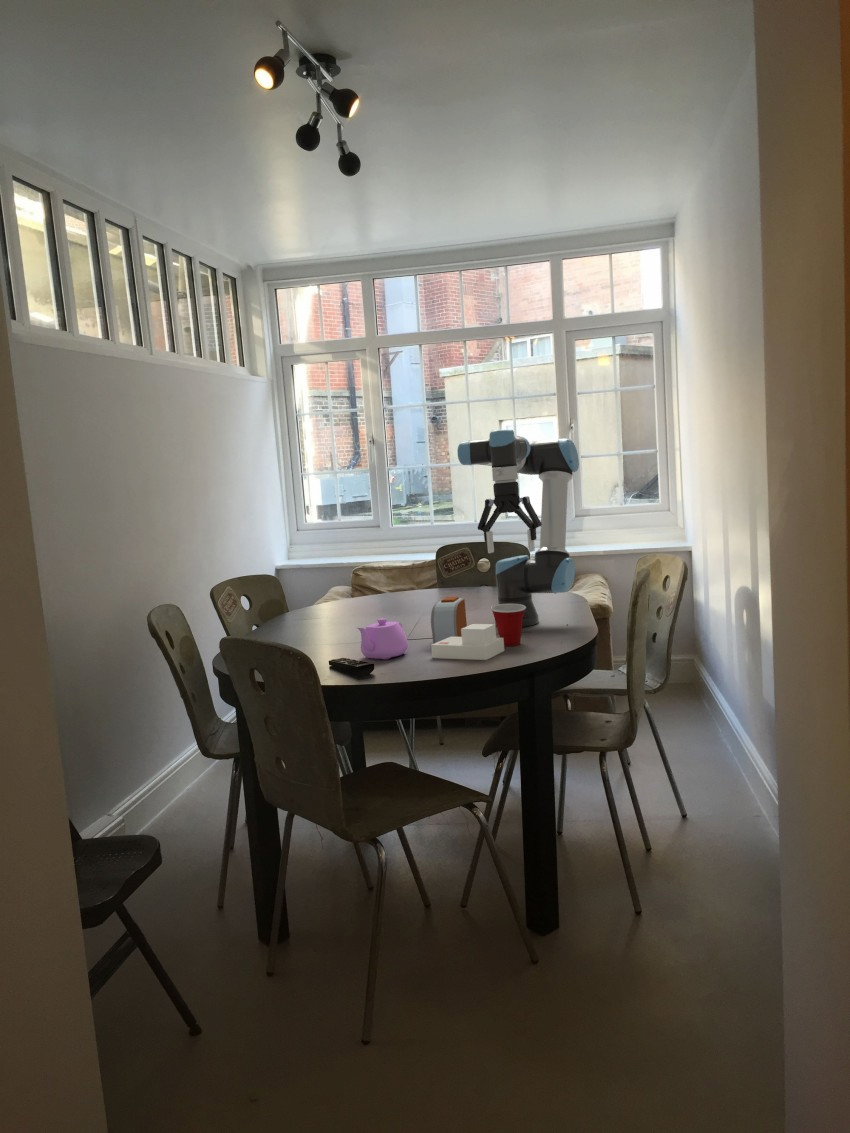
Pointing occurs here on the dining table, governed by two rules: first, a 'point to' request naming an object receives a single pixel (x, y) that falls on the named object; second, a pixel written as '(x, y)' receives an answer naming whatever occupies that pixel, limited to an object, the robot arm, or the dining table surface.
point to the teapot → (383, 640)
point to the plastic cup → (509, 622)
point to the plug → (478, 634)
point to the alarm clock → (448, 618)
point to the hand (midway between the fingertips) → (511, 552)
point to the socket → (466, 649)
